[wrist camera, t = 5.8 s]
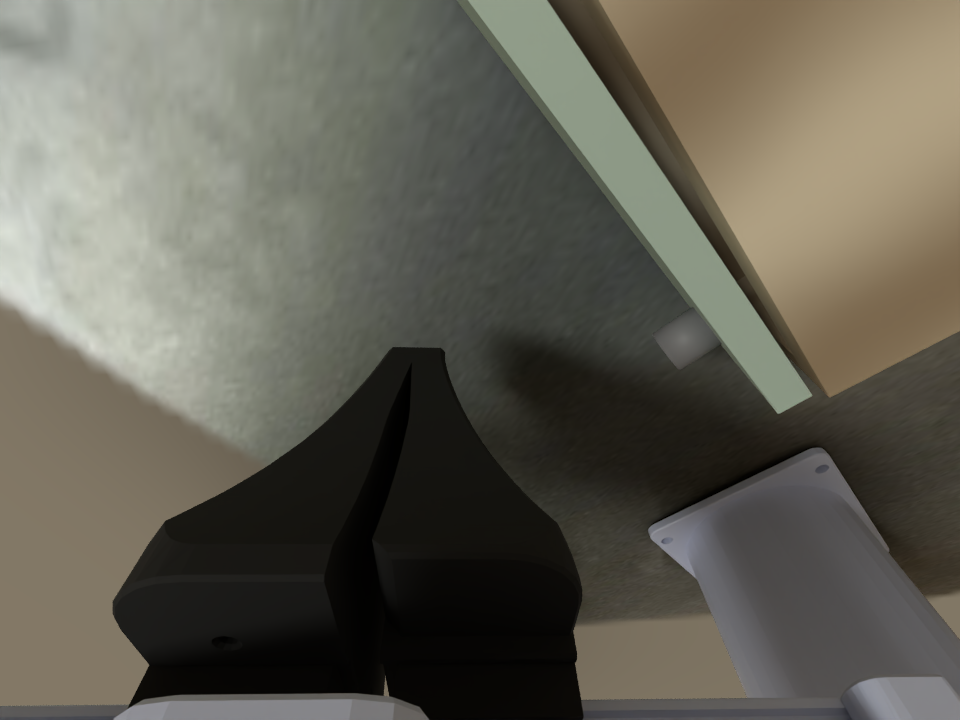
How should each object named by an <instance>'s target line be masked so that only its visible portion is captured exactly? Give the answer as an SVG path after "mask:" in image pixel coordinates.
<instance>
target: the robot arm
mask: <svg viewBox="0 0 960 720" xmlns="http://www.w3.org/2000/svg"><path fill="white" fill-rule="evenodd" d="M648 532H649V535H650V538H651V539H652V540H653V541H654V542H655V543H656V544H657V545H658V546H660V547H661V548H662V549H663V550H664V551H665V552H666V553H668V554H669V555H670V556H671V557H672V558H673V559H674V560H676V561H677V562H678V563H679V564H680V565H681V566H682V567H683V568H685V569H686V570H687V571H688V572H689V573H690V574H691V575H693V576H694V577H695V578H696V579H697V580H698V583H699V585H700V587H701V590H702V592H703V595H704V597H705V599H706V602H707V604H708V606H709V609H710V611H711V613H712V616H713V618H714V620H715V623H716V625H717V627H718V630H719V632H720V634H721V637H722V639H723V642H724V644H725V646H726V649H727V651H728V653H729V656H730V658H731V661H732V663H733V665H734V668H735V670H736V672H737V675H738V677H739V679H740V682H741V684H742V686H743V689H744V691H745V694H746V696H747V698H729V699H727V698H720V699H625V700H581V697H580V691H579V686H578V680H577V673H576V667H575V662H576V660H577V651H576V645H575V639H574V634H573V630H574V627H575V623H576V620H577V616H578V613H579V609H580V606H581V602H582V586H581V582H580V578H579V574H578V571H577V568H576V565H575V562H574V560H573V557H572V554H571V552H570V549H569V547H568V545H567V542H566V540H565V538H564V536H563V534H562V532H561V530H560V528H559V526H558V524H557V522H555V521H554V520H553V519H552V518H551V517H550V516H548V515H547V514H546V513H545V512H544V511H543V510H542V509H541V508H539V507H538V506H537V505H536V504H535V503H534V502H533V501H532V500H531V499H530V498H529V497H528V496H527V495H526V494H525V493H524V492H523V491H522V490H521V489H520V488H519V487H518V486H517V485H516V484H515V483H514V482H513V480H512V479H511V478H510V477H509V476H508V475H507V473H506V472H505V471H504V470H503V469H502V467H501V466H500V465H499V464H498V463H497V462H496V460H495V459H494V458H493V457H492V455H491V454H490V452H489V451H488V450H487V448H486V447H485V445H484V444H483V443H482V441H481V440H480V438H479V437H478V435H477V433H476V432H475V430H474V429H473V427H472V425H471V423H470V422H469V420H468V418H467V416H466V414H465V412H464V411H463V409H462V407H461V404H460V402H459V400H458V398H457V396H456V393H455V391H454V388H453V386H452V383H451V381H450V378H449V374H448V371H447V367H446V363H445V352H444V351H443V350H442V349H441V348H408V347H393V348H392V349H390V350H389V351H388V353H387V354H386V355H385V357H384V358H383V359H382V361H381V362H380V363H379V365H378V366H377V367H376V368H375V370H374V371H373V372H372V373H371V375H370V376H369V377H368V378H367V379H366V380H365V382H364V383H363V384H362V385H361V386H360V387H359V388H358V390H357V391H356V392H355V393H354V394H353V395H352V396H351V397H350V398H349V399H348V400H347V401H346V402H345V403H344V404H343V405H342V406H341V407H340V408H339V409H338V410H337V411H336V412H335V413H334V414H333V415H332V416H331V417H330V418H329V419H328V420H327V421H326V422H325V423H324V424H323V425H322V426H320V427H319V428H318V429H317V430H316V431H315V432H313V433H312V434H311V435H310V436H309V437H307V438H306V439H305V440H304V441H302V442H301V443H300V444H298V445H297V446H296V447H294V448H293V449H291V450H290V451H289V452H287V453H286V454H284V455H283V456H281V457H280V458H279V459H277V460H276V461H274V462H273V463H271V464H270V465H268V466H267V467H265V468H264V469H262V470H261V471H259V472H257V473H256V474H254V475H252V476H251V477H249V478H248V479H246V480H244V481H242V482H241V483H239V484H237V485H235V486H234V487H232V488H230V489H228V490H226V491H225V492H223V493H221V494H219V495H217V496H215V497H213V498H211V499H209V500H207V501H205V502H203V503H201V504H199V505H197V506H195V507H193V508H191V509H189V510H187V511H185V512H183V513H181V514H179V515H177V516H175V517H173V518H171V519H168V520H166V521H165V522H164V524H163V525H162V526H161V528H160V529H159V531H158V532H157V533H156V535H155V536H154V537H153V539H152V540H151V541H150V543H149V544H148V546H147V547H146V549H145V551H144V552H143V554H142V556H141V557H140V559H139V560H138V562H137V564H136V565H135V567H134V569H133V570H132V572H131V573H130V575H129V576H128V578H127V580H126V581H125V583H124V584H123V586H122V588H121V589H120V591H119V592H118V594H117V595H116V597H115V599H114V600H113V615H114V618H115V620H116V621H117V623H118V625H119V627H120V629H121V630H122V632H123V633H124V634H125V635H126V637H127V638H128V639H129V640H130V642H131V643H132V644H133V645H134V646H135V648H136V649H137V650H138V651H139V652H140V654H141V655H142V656H143V657H144V659H145V660H146V661H147V662H148V664H149V667H148V669H147V671H146V673H145V675H144V677H143V679H142V681H141V683H140V685H139V687H138V689H137V691H136V693H135V695H134V697H133V699H132V700H131V703H130V704H129V705H65V706H64V705H57V706H56V705H55V706H0V720H960V639H959V638H958V637H957V636H956V635H955V633H954V632H953V631H952V630H951V628H950V627H949V626H948V625H947V624H946V622H945V621H944V620H943V619H942V617H941V616H940V615H939V614H938V613H937V611H936V610H935V609H934V608H933V606H932V605H931V604H930V603H929V602H928V600H927V599H926V598H925V597H924V595H923V594H922V593H921V592H920V591H919V589H918V588H917V587H916V586H915V584H914V583H913V582H912V581H911V580H910V578H909V577H908V576H907V575H906V573H905V572H904V571H903V570H902V569H901V567H900V566H899V565H898V564H897V562H896V561H895V560H894V559H893V558H892V556H891V555H890V554H889V553H888V552H889V548H888V546H887V544H886V543H885V541H884V540H883V538H882V537H881V535H880V533H879V532H878V530H877V529H876V527H875V526H874V524H873V523H872V521H871V519H870V518H869V516H868V515H867V513H866V512H865V510H864V509H863V507H862V505H861V504H860V502H859V501H858V499H857V498H856V496H855V495H854V493H853V491H852V490H851V488H850V487H849V485H848V484H847V482H846V481H845V479H844V477H843V476H842V474H841V473H840V471H839V470H838V468H837V466H836V465H835V463H834V462H833V460H832V459H831V457H830V456H829V454H828V453H827V452H826V451H825V450H824V449H823V448H811V449H808V450H806V451H804V452H802V453H800V454H798V455H796V456H794V457H791V458H789V459H787V460H785V461H783V462H781V463H779V464H777V465H775V466H773V467H771V468H769V469H767V470H765V471H762V472H760V473H758V474H756V475H754V476H752V477H750V478H748V479H746V480H744V481H742V482H740V483H738V484H736V485H733V486H731V487H729V488H727V489H725V490H723V491H721V492H719V493H717V494H715V495H713V496H711V497H709V498H707V499H704V500H702V501H700V502H698V503H696V504H694V505H692V506H690V507H688V508H686V509H684V510H682V511H680V512H678V513H675V514H673V515H671V516H669V517H667V518H665V519H663V520H661V521H659V522H657V523H655V524H653V525H652V526H651V527H650V528H649V530H648ZM385 676H386V681H387V686H388V691H389V697H388V696H384V682H385Z"/></svg>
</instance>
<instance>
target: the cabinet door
mask: <svg viewBox="0 0 960 720" xmlns="http://www.w3.org/2000/svg"><path fill="white" fill-rule="evenodd" d="M457 2H458V3H459V4H460V5H461V7H462V8H463V9H464V11H465V12H466V13H467V15H468V16H469V17H470V19H471V20H472V21H473V23H474V24H475V25H476V27H477V28H478V29H479V30H480V32H481V33H482V34H483V36H484V37H485V38H486V40H487V41H488V42H489V44H490V45H491V46H492V48H493V49H494V50H495V51H496V53H497V54H498V55H499V57H500V58H501V59H502V61H503V62H504V63H505V65H506V66H507V67H508V69H509V70H510V71H511V73H512V74H513V75H514V76H515V78H516V79H517V80H518V82H519V83H520V84H521V86H522V87H523V88H524V90H525V91H526V92H527V94H528V95H529V96H530V98H531V99H532V100H533V101H534V103H535V104H536V105H537V107H538V108H539V109H540V111H541V112H542V113H543V115H544V116H545V117H546V119H547V120H548V121H549V122H550V124H551V125H552V126H553V128H554V129H555V130H556V132H557V133H558V134H559V136H560V137H561V138H562V140H563V141H564V142H565V144H566V145H567V146H568V147H569V149H570V150H571V151H572V153H573V154H574V155H575V157H576V158H577V159H578V161H579V162H580V163H581V165H582V166H583V167H584V168H585V170H586V171H587V172H588V174H589V175H590V176H591V178H592V179H593V180H594V182H595V183H596V184H597V186H598V187H599V188H600V190H601V191H602V192H603V193H604V195H605V196H606V197H607V199H608V200H609V201H610V203H611V204H612V205H613V207H614V208H615V209H616V211H617V212H618V213H619V214H620V216H621V217H622V218H623V220H624V221H625V222H626V224H627V225H628V226H629V228H630V229H631V230H632V232H633V233H634V234H635V236H636V237H637V238H638V239H639V241H640V242H641V243H642V245H643V246H644V247H645V249H646V250H647V251H648V253H649V254H650V255H651V257H652V258H653V259H654V260H655V262H656V263H657V264H658V266H659V267H660V268H661V270H662V271H663V272H664V274H665V275H666V276H667V278H668V279H669V280H670V282H671V283H672V284H673V285H674V287H675V288H676V289H677V291H678V292H679V293H680V295H681V296H682V297H683V299H684V300H685V301H686V303H687V304H688V305H689V306H690V309H688V310H687V311H685V312H684V313H682V314H681V315H679V316H678V317H676V318H675V319H673V320H672V321H671V322H669V323H668V324H666V325H665V326H663V327H662V328H660V329H659V330H657V331H656V332H654V333H653V336H654V338H655V340H656V341H657V343H658V344H659V346H660V347H661V348H662V350H663V351H664V352H665V354H666V355H667V356H668V358H669V359H670V360H671V361H672V363H673V364H674V365H675V366H676V367H677V368H678V369H679V370H681V369H683V368H684V367H686V366H688V365H689V364H691V363H692V362H694V361H696V360H697V359H699V358H700V357H702V356H703V355H705V354H707V353H708V352H710V351H711V350H713V349H715V348H716V347H718V346H719V345H721V346H722V347H723V348H724V349H725V350H726V352H727V353H728V354H729V355H730V357H731V358H732V359H733V360H734V361H735V363H736V364H737V365H738V366H739V367H740V369H741V370H742V371H743V372H744V373H745V375H746V376H747V377H748V378H749V380H750V381H751V382H752V383H753V384H754V386H755V387H756V388H757V389H758V390H759V392H760V393H761V394H762V395H763V396H764V398H765V399H766V400H767V401H768V403H769V404H770V405H771V406H772V407H773V409H774V410H775V411H776V412H777V413H778V414H780V413H781V412H783V411H785V410H787V409H789V408H791V407H793V406H794V405H796V404H798V403H800V402H802V401H804V400H805V399H807V398H809V397H811V396H812V394H811V393H810V391H809V390H808V388H807V387H806V385H805V384H804V382H803V381H802V379H801V378H800V376H799V375H798V373H797V372H796V370H795V369H794V367H793V366H792V364H791V363H790V361H789V360H788V359H787V357H786V356H785V354H784V353H783V351H782V350H781V348H780V347H779V345H778V344H777V342H776V341H775V339H774V338H773V336H772V335H771V333H770V332H769V330H768V329H767V327H766V326H765V324H764V323H763V321H762V320H761V318H760V317H759V315H758V314H757V312H756V311H755V309H754V308H753V306H752V305H751V303H750V302H749V300H748V299H747V297H746V296H745V294H744V293H743V291H742V290H741V288H740V287H739V285H738V284H737V282H736V281H735V279H734V278H733V277H732V275H731V274H730V272H729V271H728V269H727V268H726V266H725V265H724V263H723V262H722V260H721V259H720V257H719V256H718V254H717V253H716V251H715V250H714V248H713V247H712V245H711V244H710V242H709V241H708V239H707V238H706V236H705V235H704V233H703V232H702V230H701V229H700V227H699V226H698V224H697V223H696V221H695V220H694V218H693V217H692V215H691V214H690V212H689V211H688V209H687V208H686V206H685V205H684V203H683V202H682V200H681V199H680V197H679V196H678V195H677V193H676V192H675V190H674V189H673V187H672V186H671V184H670V183H669V181H668V180H667V178H666V177H665V175H664V174H663V172H662V171H661V169H660V168H659V166H658V165H657V163H656V162H655V160H654V159H653V157H652V156H651V154H650V153H649V151H648V150H647V148H646V147H645V145H644V144H643V142H642V141H641V139H640V138H639V136H638V135H637V133H636V132H635V130H634V129H633V127H632V126H631V124H630V123H629V121H628V120H627V118H626V117H625V115H624V114H623V113H622V111H621V110H620V108H619V107H618V105H617V104H616V102H615V101H614V99H613V98H612V96H611V95H610V93H609V92H608V90H607V89H606V87H605V86H604V84H603V83H602V81H601V80H600V78H599V77H598V75H597V74H596V72H595V71H594V69H593V68H592V66H591V65H590V63H589V62H588V60H587V59H586V57H585V56H584V54H583V53H582V51H581V50H580V48H579V47H578V45H577V44H576V42H575V41H574V39H573V38H572V36H571V35H570V33H569V32H568V31H567V29H566V28H565V26H564V25H563V23H562V22H561V20H560V19H559V17H558V16H557V14H556V13H555V11H554V10H553V8H552V7H551V5H550V4H549V2H548V1H547V0H457Z"/></svg>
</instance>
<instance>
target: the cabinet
mask: <svg viewBox="0 0 960 720" xmlns="http://www.w3.org/2000/svg"><path fill="white" fill-rule="evenodd" d="M547 1H548V2H549V4H550V5H551V7H552V8H553V10H554V11H555V13H556V14H557V16H558V17H559V19H560V20H561V22H562V23H563V25H564V26H565V28H566V29H567V31H568V32H569V33H570V35H571V36H572V38H573V39H574V41H575V42H576V44H577V45H578V47H579V48H580V50H581V51H582V53H583V54H584V56H585V57H586V59H587V60H588V62H589V63H590V65H591V66H592V68H593V69H594V71H595V72H596V74H597V75H598V77H599V78H600V80H601V81H602V83H603V84H604V86H605V87H606V89H607V90H608V92H609V93H610V95H611V96H612V98H613V99H614V101H615V102H616V104H617V105H618V107H619V108H620V110H621V111H622V113H623V114H624V115H625V117H626V118H627V120H628V121H629V123H630V124H631V126H632V127H633V129H634V130H635V132H636V133H637V135H638V136H639V138H640V139H641V141H642V142H643V144H644V145H645V147H646V148H647V150H648V151H649V153H650V154H651V156H652V157H653V159H654V160H655V162H656V163H657V165H658V166H659V168H660V169H661V171H662V172H663V174H664V175H665V177H666V178H667V180H668V181H669V183H670V184H671V186H672V187H673V189H674V190H675V192H676V193H677V195H678V196H679V197H680V199H681V200H682V202H683V203H684V205H685V206H686V208H687V209H688V211H689V212H690V214H691V215H692V217H693V218H694V220H695V221H696V223H697V224H698V226H699V227H700V229H701V230H702V232H703V233H704V235H705V236H706V238H707V239H708V241H709V242H710V244H711V245H712V247H713V248H714V250H715V251H716V253H717V254H718V256H719V257H720V259H721V260H722V262H723V263H724V265H725V266H726V268H727V269H728V271H729V272H730V274H731V275H732V277H733V278H734V279H735V281H736V282H737V284H738V285H739V287H740V288H741V290H742V291H743V293H744V294H745V296H746V297H747V299H748V300H749V302H750V303H751V305H752V306H753V308H754V309H755V311H756V312H757V314H758V315H759V317H760V318H761V320H762V321H763V323H764V324H765V326H766V327H767V329H768V330H769V332H770V333H771V335H772V336H773V338H774V339H775V341H776V342H777V344H778V345H779V347H780V348H781V350H782V351H783V352H784V353H785V354H786V355H787V356H788V357H789V358H790V359H791V360H792V361H793V362H794V363H795V364H796V365H797V366H798V367H799V368H800V369H801V370H802V371H803V372H804V373H805V374H806V375H807V376H808V377H809V378H810V379H811V380H812V381H813V382H814V383H815V384H816V385H817V386H818V387H819V388H820V389H821V390H822V391H823V392H824V393H825V394H826V395H827V396H828V397H829V398H830V397H832V396H834V395H836V394H838V393H840V392H842V391H843V390H845V389H847V388H849V387H851V386H853V385H855V384H857V383H859V382H861V381H863V380H865V379H867V378H869V377H871V376H873V375H875V374H877V373H878V372H880V371H882V370H884V369H886V368H888V367H890V366H892V365H894V364H896V363H898V362H900V361H902V360H904V359H906V358H908V357H910V356H912V355H913V354H915V353H917V352H919V351H921V350H923V349H925V348H927V347H929V346H931V345H933V344H935V343H937V342H939V341H941V340H943V339H945V338H947V337H948V336H950V335H952V334H954V333H956V332H958V331H960V0H547Z"/></svg>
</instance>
